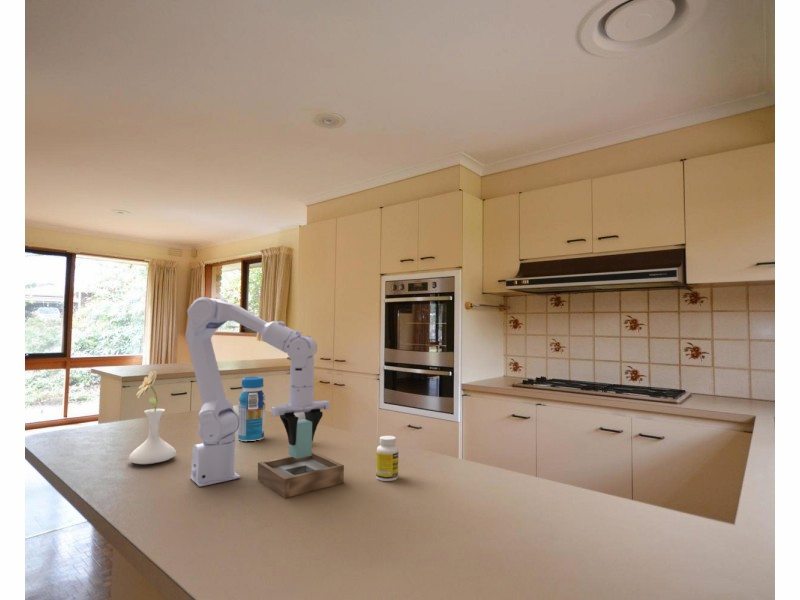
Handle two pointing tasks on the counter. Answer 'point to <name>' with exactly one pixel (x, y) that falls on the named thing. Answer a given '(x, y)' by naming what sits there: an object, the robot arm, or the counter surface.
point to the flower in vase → (152, 431)
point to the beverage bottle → (251, 409)
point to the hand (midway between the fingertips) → (300, 442)
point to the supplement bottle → (387, 459)
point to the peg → (302, 440)
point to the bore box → (300, 474)
